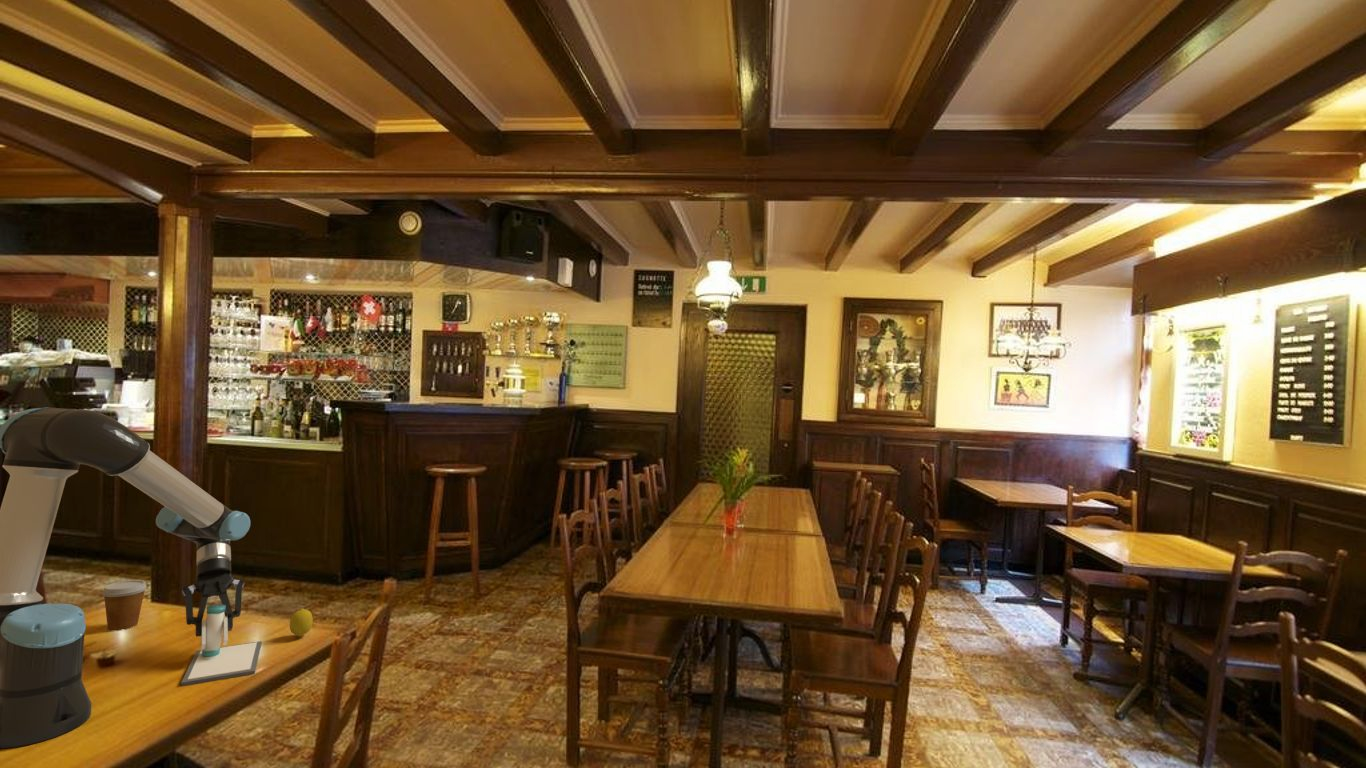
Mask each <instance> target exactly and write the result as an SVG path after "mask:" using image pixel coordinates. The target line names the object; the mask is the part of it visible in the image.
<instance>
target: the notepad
mask: <svg viewBox="0 0 1366 768" xmlns="http://www.w3.org/2000/svg"><path fill="white" fill-rule="evenodd" d="M262 642H263V641H262V640H260V641H252V642H246V643H240V644H239V643H237V644H232V645H231V644H230V645H224V646H220V652H219V654H218V655H216V656H212V657H203V656H202V650H201V649H198V650H196V651H195V653H194V654H193V657H192V660H190V661H191V662H190V664H189V665H188V667H187V670H186V672H185V674H184V676H183V678H182V680H181V682H180V683H181V684H180V686H181V687H183V686H190V685H191V686H192V685H196V684H202V683H206V682H207V683H208V682H213V681H214V682H215V681H220V680H226V679H232V678H238V677H243V676H249V675H255V673H256V670H257V665H258V660H259V656H260V653H261V647H262Z"/></svg>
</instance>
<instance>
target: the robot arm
mask: <svg viewBox="0 0 1366 768" xmlns="http://www.w3.org/2000/svg"><path fill="white" fill-rule="evenodd" d="M0 449H1V452H2V453H3V454H4V456H5V457H4V459H3V460H4V461H3V463H2V468H3V469H4V470H5V471H6V472H7V473H8V474H9V479H8V482H7V485H6V489H5V491H4V492H5V493H4V496H3V498H2V502H1V505H0V749H7V748H17V747H22V746H27V745H31V744H32V745H33V744H36V743H40V742H43V741H48V740H51V739H53V738H56V737H59V736H61V735H64V734H66V733H68V732H71V731H73V730H75V729H76V728H78V727H80V726H81V725H83V724H84V723H86V722H87V721H88V720H89V719H90V718H91V716H92V701H91V699H90V696H89V694H88V692H87V690H86V687H85V685H84V682H83V678H82V673H83V661H84V660H83V659H84V646H85V645H84V643H85V631H86V630H87V629H86V628H87V625H86V618H85V612H84V610H83V609H82V608H81V607H79V606H77V605H74V604H71V603H70V604H68V603H53V604H52V603H43V600H44V596H43V595H41V594H40V593H39V592H37V586H38V583H39V579H40V575H41V572H42V567H43V565H44V562H45V557H46V553H47V550H48V547H49V543H50V540H51V535H52V532H53V529H54V524H55V521H56V519H57V513H58V510H59V506H60V503H61V499H62V496H63V493H64V489H65V485H66V481H67V480H68V478H70V477H71V476H73V475H75V474H77V473H78V472H79V469H80V466H81V465H85V466H89V467H92V468H94V469H97V470H99V471H101V472H102V473H104V474H105V475H107V476H111V477H114V476H119V477H120V478H121V479H123V480H124V481H125V482H127V483H129V484H130V485H132V486H133V487H135V488H136V489H138V490H140V491H141V492H143V493H144V494H146V495H147V496H148V497H150V498H151V499H153V500H154V501H156V502H157V503H160V504H161V505H162V506H164V507H162V508H161V510H159V512H158V514H157V515H156V518H155V525H156V527H158V528H159V529H161V530H162V531H164V532H166V533H167V534H168V533H169V534H173V535H175V536H177V537H180V538H182V539H185V540H188V541H189V542H192V543H195V544H196V563H195V564H196V571H195V573H196V575H195V576H196V578H195V582H194V583H193V584H192V585H190V586H188V585H187V586H183V587H182V591H181V595H182V596H183V597H184V600H185V601H184V602H185V616H186V617H185V618H186V619H185V620H186V622H185V623H186V625H189V626H190V625H194V627H195V636H196V637H198V638H199V637H200V650H203V649H205V645H206V619H203V618H204V616H205V611H206V609H207V605H208V604H207V603H208V599H209V598H211V597H219V600H220V603H221V604H222V605H226V608H225V612H224V620H223V628H222V647H225V646H228V641H229V635H228V634H229V633H228V632H230V631H231V632H232V631H233V627H234V618H239V617H240V616H241V611H242V596H243V594H242V593H243V588H244V586H245V581H246V580H245V579H244V578H240V579H235V578H234V576H233V575H232V562H231V561H232V550H231V541H238V540H240V539H242V538H243V537H245V536H246V534H247V533H248V532H249V531H250V528H251V519H250V516H249V515H248V514H247V513H246V512H243V511H240V510H232V509H230V508H229V507H227V506H226V505H224V504H223V503H222V502H220V501H218V500H217V499H216V498H215V497H213V496H212V495H210V494H209V493H208V492H207V491H205V490H204V489H202V488H201V487H200V486H199V485H197V484H196V483H194V482H193V481H191V480H190V479H189V478H188V477H186V476H185V475H184V474H183V473H181V472H180V471H178V470H177V469H176V468H174V467H173V466H172V465H170V464H169V463H167V461H165V460H164V459H162V458H161V457H160V456H158V455H157V454H156V453H154V452H152V451H151V450H150V449H151V446H150V443H149V442H147V441H146V440H145V439H144V438H142V437H141V436H140V435H139V434H138V433H136V432H134V431H133V430H131V429H130V428H129V427H128V426H126V425H124V424H122V423H121V422H119V421H118V420H116V419H115V418H112V417H111V416H108V415H106V414H104V413H102V412H98V411H95V410H89V409H79V408H78V409H73V408H62V407H61V408H59V407H58V408H57V407H39V408H37V407H36V408H29V409H25V410H22V411H19V412H18V413H15V414H13V415H12V416H11V417H9V418H8V419H6V420H5V422H4V423H3V424H2V425H1V427H0ZM232 585H233V588H234V590H235V592H234V593H235V595H234V596H235V597H234V598H235V599H234V610H233V609H232V605H231V602H230V599H229V596H228V589H229V588H230V587H232ZM195 591H197V592H198V593H199V594H200V595H202V596H201V600H200V604H199V607H198V612H197V615H196V616H194V608H193V607H194V606H193V605H194V604H193V594H194V593H195Z"/></svg>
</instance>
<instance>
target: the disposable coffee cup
mask: <svg viewBox="0 0 1366 768" xmlns="http://www.w3.org/2000/svg"><path fill="white" fill-rule="evenodd" d="M147 588H148V585H147V584H146V581H145V580H141V579H139V580H138V579H136V580H135V579H134V580H124V581H118V582H113V583H110V584H107V585H106V586H104V588H103V590H102V592H101V594H102V596H103V599H104V608H105V616H106V624H107V625H106V626H107V631H111V630H117V631H123V630H122V629H124V630H127V628H129V629H131V627H132V628H134V627H136V626H138V624H139V619H140V614H141V609H142V604H143V600H144V595H145V591H146V589H147ZM133 626H134V627H133Z"/></svg>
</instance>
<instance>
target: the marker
mask: <svg viewBox="0 0 1366 768" xmlns="http://www.w3.org/2000/svg"><path fill="white" fill-rule="evenodd" d="M225 608H226V605H222V603H221V604H219V603H218V604H212V605H209V606H206V618H205V620H206V645H205V649H203V650H202V656H203V657H212V656H216V655H218V654H219V652H220V647H221V642H222V637H223V620H224V617H225V613H224V612H225Z"/></svg>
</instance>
